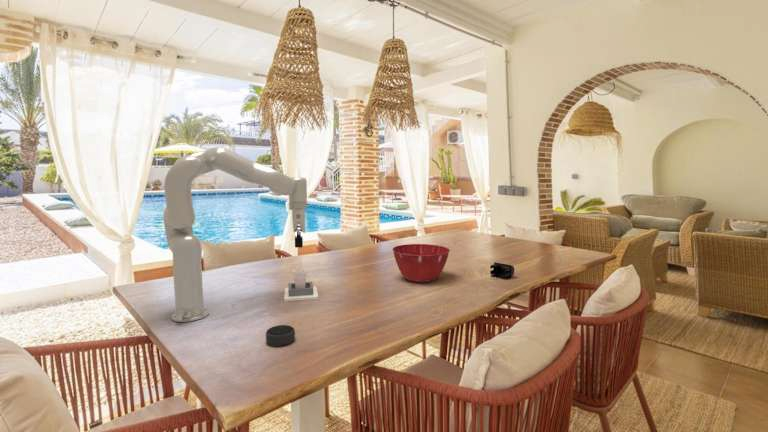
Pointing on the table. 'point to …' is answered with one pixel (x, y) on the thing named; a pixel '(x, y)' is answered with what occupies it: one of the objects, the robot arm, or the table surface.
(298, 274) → the smoothie
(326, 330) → the table surface
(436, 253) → the mixing bowl
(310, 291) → the socket board
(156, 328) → the table surface
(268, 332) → the smart speaker
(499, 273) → the end cap
